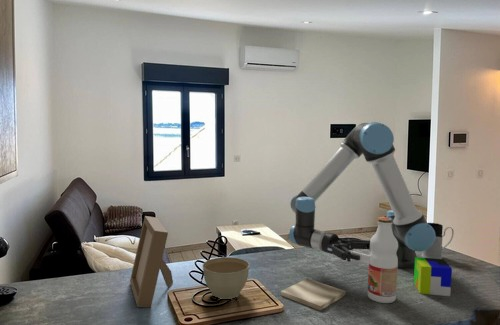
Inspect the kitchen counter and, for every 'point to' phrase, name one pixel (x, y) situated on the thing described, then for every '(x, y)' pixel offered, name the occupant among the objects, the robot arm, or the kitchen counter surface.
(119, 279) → the kitchen counter surface
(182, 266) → the kitchen counter surface
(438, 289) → the puzzle toy
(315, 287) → the birch board
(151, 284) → the photo frame
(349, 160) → the robot arm
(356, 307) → the kitchen counter surface
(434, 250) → the grey pitcher
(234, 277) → the planter bowl
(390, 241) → the fruit juice
